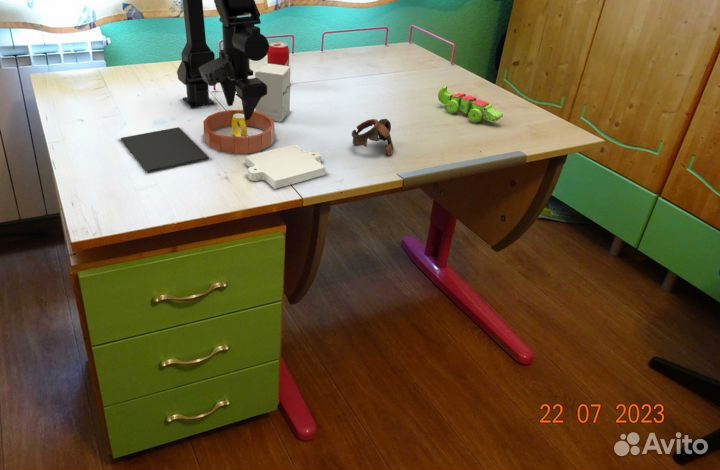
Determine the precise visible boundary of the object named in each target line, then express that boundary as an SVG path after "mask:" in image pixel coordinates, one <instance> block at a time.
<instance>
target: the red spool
mask: <svg viewBox="0 0 720 470" xmlns="http://www.w3.org/2000/svg"><path fill="white" fill-rule="evenodd" d="M268 43H269V50H268V53H267V55H266V57H267V58H266V59H267V63H268V64H276V65H283V66H290V48H289V46H288V43H287V42H285V41H281V40H279V41H278V40H276V41H270V42H268Z"/></svg>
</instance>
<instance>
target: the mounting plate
mask: <svg viewBox="0 0 720 470" xmlns="http://www.w3.org/2000/svg"><path fill="white" fill-rule="evenodd" d="M244 157H245V159H244V162H245V165H246V166H247V178H248V179H249V180H250V181H252V182H258V181H265V183H267V184H268V185H269V186H270V187H272V188H273V189H274V190H276V189H279V188H284V187H287V186H290V185H294V184H298V183H301V182H305V181H308V180H312V179H315V178H320V177H323V176H325V175H326V168H327V166H325V165H323V163H321V160H322V159H321V158H322V155H321V153H319V152H318V151H314V150H313V151H304V150H303V149H302V148H300V147H299V146H297V145H296V144H291V145H287V146H283V147H279V148H275V149H271V150H266V151H262V152H257V153H253V154H250V155H246V156H244Z"/></svg>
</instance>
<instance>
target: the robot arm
mask: <svg viewBox="0 0 720 470" xmlns="http://www.w3.org/2000/svg"><path fill="white" fill-rule="evenodd" d="M213 3H214V5H215V9H216V11H217V13H218V15H219V19H218V21H219V22H220V23H221V25H222V26H221V29H222V49H219V52H218V57H217V58H215V57H216V55H215V52H214V51H213V50H211V48H210V46H209V45H208V44H207V38H206V26H205V24H206V23H205V14H204V13H205V12H204V3H203V0H182V10H183V18H184V28H185V38H186V43H185V45H184V47H183V49H182V51H181V62H180V64H179V66H178V68H177V70H176V74H177V79H178V80H179V81H180V82H181V83H182V84H183V85H184V86H185V89H186V96H185V97H182V101H183V102H184V103H186V104H187V105H188V106H189V107H190V109H191V108H192V109H194V108H200V107H206V106H211V105H212V106H213V105H214V104H215V102H214V101H213V100H212V99H211V98H210V91H209V90H210V89H209V86H210V87H213V86H215V85H217V84H220V87H221V89H222V92H223V93H222V94H223V95H224V96H223V97H224V98H225V101H226V104H227V106H228V107H232V106H233V105H234V102H235V98H236V97H238V98H239V99H240V100H241V106H242V110H243V113H244V118H245V120H249V119H250V118H251V116H252V114H253V112H254V111H256V106H257V104H258V102H259V101H260V99H261V97H264V95H267V85H266V84H265V83H264V82H262V81H261V80H259V79H258V78H255V77H252V76H254V70H253V69H251V65H250V63H251V62H250V61H253V62H259V61H261V60H263V59H265V57H267V53H268V50H269V43H270V42H269V40H268V38H267V37H266V36H265V35H264V34H262V33H261V27H259V26H257V25H261V23H262V21H261V13H260V11H259V7H258V6H257V3H256V0H213ZM249 77H250V78H249ZM251 77H252V78H251Z"/></svg>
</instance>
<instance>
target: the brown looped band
mask: <svg viewBox="0 0 720 470" xmlns="http://www.w3.org/2000/svg"><path fill="white" fill-rule="evenodd" d="M369 127H371V128H370V129H369V130H367V131H365V132H363V133H362V131H364V130H365V129H367V128H369ZM356 129H357V130H356ZM356 129H353V130H352V131H351V136H352V145H354V146H363V147H365V148H367V146H368V145H367V144H368V140H369V141H373V142H377V143H378V142H380V141H382V142H386V143H387V146H386V147H385V151H386V155H387V156H388V157H389V156H390V155H391V154H393V152H394V145H393V141H392V137H391V129H392V124H391V121H390V120H389V119H388V118H382V119H379V120H378V119H376V118H370V119H367V120H365V121H362V122H361V123H360V124H358V125H356Z"/></svg>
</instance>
